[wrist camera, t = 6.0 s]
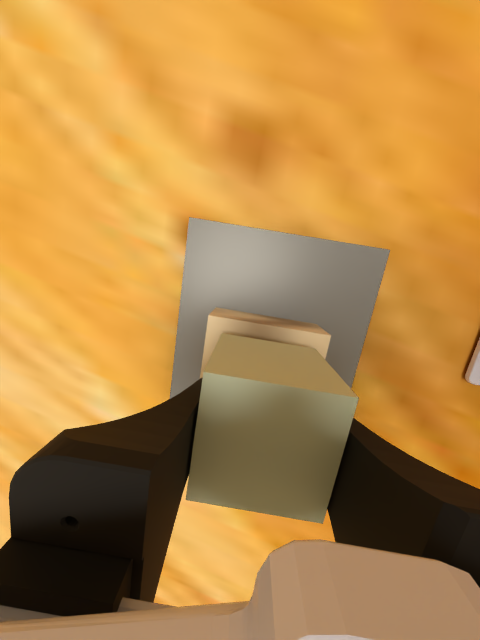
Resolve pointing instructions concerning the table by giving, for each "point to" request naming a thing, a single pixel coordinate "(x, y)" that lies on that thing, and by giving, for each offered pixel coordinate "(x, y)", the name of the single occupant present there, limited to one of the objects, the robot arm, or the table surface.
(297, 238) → the gray board
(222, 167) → the table surface
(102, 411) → the table surface
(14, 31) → the table surface
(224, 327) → the birch plinth
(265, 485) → the sage block
